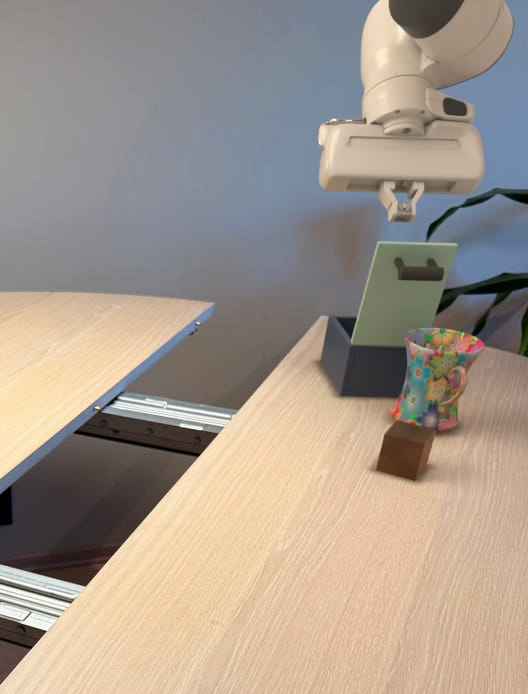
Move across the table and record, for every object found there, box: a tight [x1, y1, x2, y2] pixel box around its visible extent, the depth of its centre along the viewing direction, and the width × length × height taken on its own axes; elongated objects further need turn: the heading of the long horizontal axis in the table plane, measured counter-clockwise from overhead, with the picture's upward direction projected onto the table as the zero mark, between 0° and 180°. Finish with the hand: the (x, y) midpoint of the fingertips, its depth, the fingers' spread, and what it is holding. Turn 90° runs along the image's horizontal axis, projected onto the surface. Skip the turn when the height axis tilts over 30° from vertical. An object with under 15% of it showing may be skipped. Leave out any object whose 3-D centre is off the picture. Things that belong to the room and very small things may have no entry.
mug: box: [389, 327, 485, 432], centre depth 121 cm, size 12×9×11 cm
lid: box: [351, 240, 459, 346], centre depth 122 cm, size 13×10×5 cm
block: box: [375, 420, 437, 481], centre depth 113 cm, size 5×5×5 cm
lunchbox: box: [319, 314, 407, 398], centre depth 135 cm, size 13×10×7 cm
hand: (402, 219), depth 124 cm, fingers closed
